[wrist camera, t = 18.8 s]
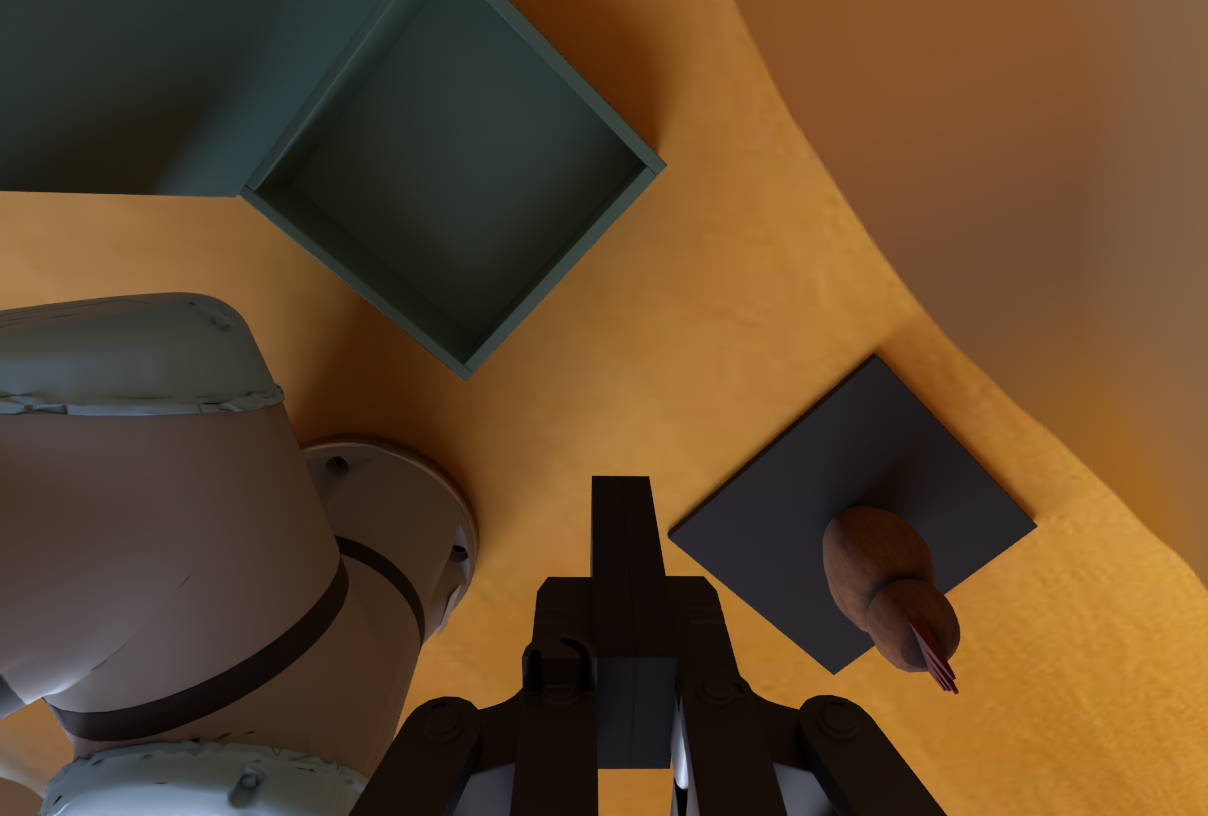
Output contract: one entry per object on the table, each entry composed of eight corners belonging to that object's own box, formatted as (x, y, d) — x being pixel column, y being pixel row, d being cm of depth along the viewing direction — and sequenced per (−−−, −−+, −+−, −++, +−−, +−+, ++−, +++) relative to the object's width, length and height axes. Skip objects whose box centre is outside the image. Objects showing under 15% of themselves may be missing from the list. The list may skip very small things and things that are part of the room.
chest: (657, 159, 38) (667, 165, 34) (479, 352, 42) (465, 382, 38) (453, -54, 34) (431, -82, 30) (278, 182, 38) (234, 192, 34)
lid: (192, -363, 15) (166, -389, 15) (-109, 189, 19) (-131, 170, 19) (435, -78, 29) (423, -91, 29) (235, 198, 33) (224, 187, 33)
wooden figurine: (815, 492, 46) (911, 653, 32) (901, 487, 46) (1035, 646, 32) (808, 576, 49) (894, 758, 35) (890, 571, 49) (1009, 752, 35)
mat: (831, 669, 53) (833, 675, 52) (666, 533, 48) (667, 538, 47) (1033, 521, 48) (1038, 526, 48) (874, 352, 43) (877, 355, 42)
